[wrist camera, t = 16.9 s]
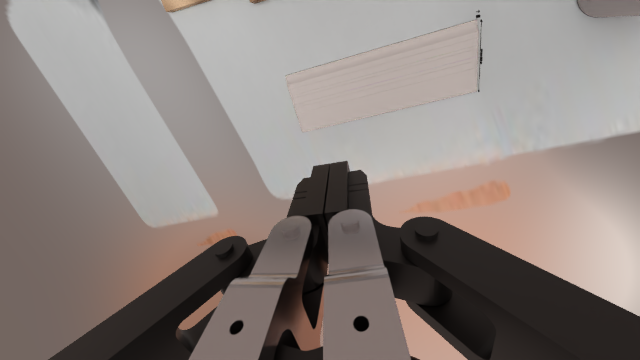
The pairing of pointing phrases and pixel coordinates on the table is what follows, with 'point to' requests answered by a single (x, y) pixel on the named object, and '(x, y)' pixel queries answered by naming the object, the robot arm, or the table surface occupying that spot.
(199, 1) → the floor edge
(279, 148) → the table surface
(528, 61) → the table surface
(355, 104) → the baseboard molding
